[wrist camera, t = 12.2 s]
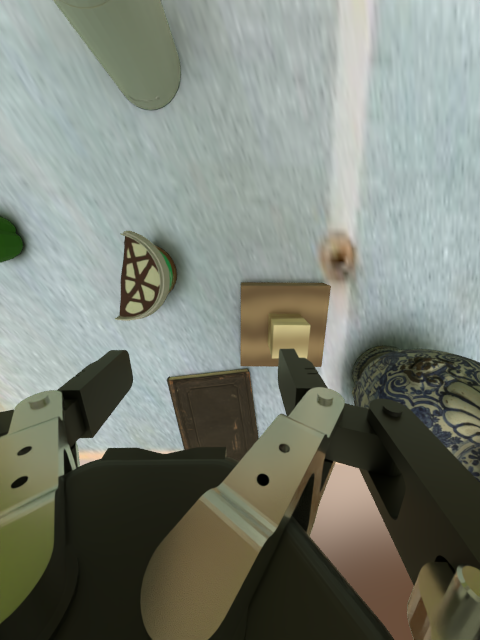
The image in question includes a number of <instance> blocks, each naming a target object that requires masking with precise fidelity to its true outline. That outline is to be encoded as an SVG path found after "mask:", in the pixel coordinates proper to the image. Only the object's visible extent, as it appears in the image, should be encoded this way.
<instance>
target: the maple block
mask: <svg viewBox="0 0 480 640" xmlns="http://www.w3.org/2000/svg"><path fill="white" fill-rule="evenodd" d="M309 335H310V324H309V323H308V322H307V321H306V320H305V319H304V318H303V317H302V316H301V315H300V314H269V322H268V346H269V349H270V353H271V356H272V358H279V350H280V349H295V351H296V353H297V355H298V357H299V358H306V359H307V355H308V345H309Z"/></svg>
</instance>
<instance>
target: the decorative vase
mask: <svg viewBox="0 0 480 640" xmlns="http://www.w3.org/2000/svg"><path fill="white" fill-rule="evenodd" d="M352 374H353V380H354V383H355V385H356V387H354V388H353V391H352V395H353V397H354V400H355V401H354V404H355V406H358V407H363V408H368V409H369V404H370V402H371V401H372V400H374V399H381V398H382V399H389V400H393V401H396V402H398V403H401V404H403V405H404V406H406V407H407V408H409V409H410V410H411V411H412V412H413V413H414V414H415V415H416V416H417V417H418V418H419V419H420V420H421V421H422V422H423V423H424V424H425V425H426V426H427V428H428V429H429V430H430V431H431V432H432V433H433V434H434V435H435V436H436V437H437V438H438V439H439V440H440V441H441V442H442V443H443V444H444V445H445V446H446V448H447V449H448V450H449V451H450V452H451V453H452V454H453V455H454V456H455V457H456V458H457V459H458V460H459V461H460V462H461V463H462V464H463V465H464V467H465V468H466V469H467V470H468V471H469V472H470V473H471V474H472V475H473V476H474V477H475V478H476V479H477V480H478V481H479V482H480V363H479V362H477V361H474V360H472V359H469V358H466V357H462V356H459V355H455V354H451V353H447V352H442V351H436V350H427V349H406V350H399V349H397V348H395V347H391V346H378V347H374V348H372V349H370V350H368V351H366V352H365V353H363V354H362V355H361V356H360V357H359V358H358V360H357V361H356V363H355V365H354V368H353V372H352Z"/></svg>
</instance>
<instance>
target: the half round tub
mask: <svg viewBox="0 0 480 640" xmlns="http://www.w3.org/2000/svg"><path fill="white" fill-rule="evenodd" d="M121 235H124V236H125V241H124V244H125V249H124V260H123V267H122V274H121V303H120V316H118V317H117V318H115V319H117V320H136V319H141V318H144V317H147V316H149V315H151V314H153V313H154V312H155V311H157V310H158V309H159V308H160V307H161V306H162V304H163V303H164V301H165V299H166V297H167V295H168V293H169V292H170V291H171V290H172V289H173V288H174V285H175V283H176V280H177V270H176V266H175V264H174V261H173V260H172V258H171V257H170V256H169V254H168V253H167V252H165V251H164V250H163V249H161V248H160V247H157V246H155V245H154V244H152V243H151V242H150V241H149V240H148V239H146V238H145V237H143V236H141V235H139V234H137V233H135V232H132V231H125V232H123V234H121Z"/></svg>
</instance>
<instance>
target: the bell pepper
mask: <svg viewBox="0 0 480 640" xmlns="http://www.w3.org/2000/svg"><path fill="white" fill-rule="evenodd" d="M22 248H23V242H22V240H21V237H20V236H18V235H17V234H16V228H15V227H14V225H13V224H12V223H11V222H10V221H8V220H6V219H4V218H3V217H1V216H0V262H3V261H7V260H10V259H12V258H14V257H15V256H17V255H18V254H20V252H21V251H22Z"/></svg>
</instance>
